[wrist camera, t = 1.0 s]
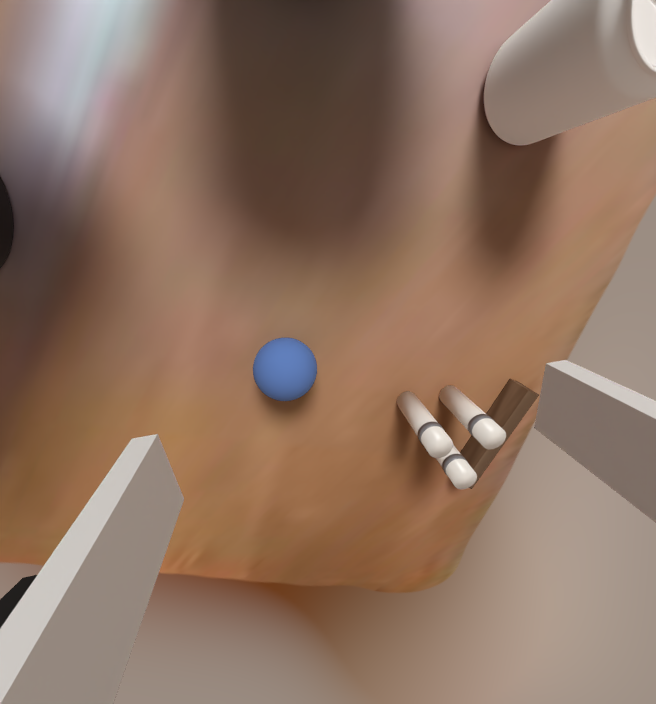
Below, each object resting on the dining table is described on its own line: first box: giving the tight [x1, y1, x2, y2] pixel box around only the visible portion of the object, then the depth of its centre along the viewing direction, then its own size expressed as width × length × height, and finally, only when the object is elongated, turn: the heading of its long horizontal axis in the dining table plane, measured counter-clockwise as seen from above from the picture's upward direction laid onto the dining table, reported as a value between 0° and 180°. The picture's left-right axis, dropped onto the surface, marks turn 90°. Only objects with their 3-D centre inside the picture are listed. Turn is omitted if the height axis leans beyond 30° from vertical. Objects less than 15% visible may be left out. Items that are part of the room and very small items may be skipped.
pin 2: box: [436, 445, 477, 489], centre depth 34 cm, size 2×2×8 cm
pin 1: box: [439, 385, 506, 449], centre depth 32 cm, size 2×2×8 cm
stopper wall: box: [460, 379, 539, 489], centre depth 37 cm, size 2×14×3 cm, turn 156°
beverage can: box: [484, 0, 656, 145], centre depth 21 cm, size 8×8×12 cm
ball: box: [253, 338, 317, 401], centre depth 29 cm, size 6×6×6 cm
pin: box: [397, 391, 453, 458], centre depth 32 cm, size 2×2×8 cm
